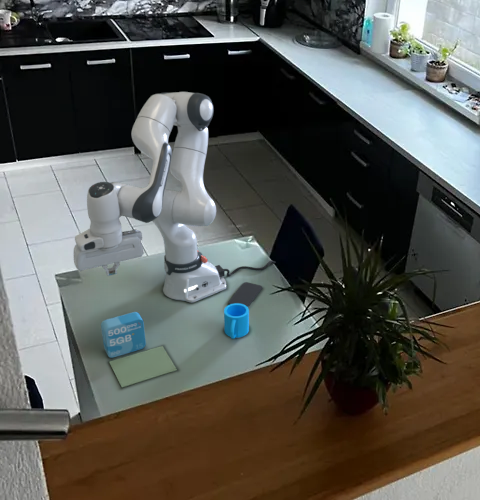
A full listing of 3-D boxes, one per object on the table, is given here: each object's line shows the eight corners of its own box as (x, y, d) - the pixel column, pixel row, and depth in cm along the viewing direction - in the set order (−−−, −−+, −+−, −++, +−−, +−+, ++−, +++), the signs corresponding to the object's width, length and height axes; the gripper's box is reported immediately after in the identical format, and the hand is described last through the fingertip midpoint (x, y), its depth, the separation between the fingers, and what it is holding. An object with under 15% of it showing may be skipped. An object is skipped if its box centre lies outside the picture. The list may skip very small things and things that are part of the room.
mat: (162, 346, 224) (162, 345, 224) (176, 370, 215) (176, 369, 215) (109, 362, 215) (109, 361, 215) (121, 387, 206) (121, 387, 206)
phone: (263, 285, 256) (246, 307, 243) (263, 287, 256) (246, 309, 244) (244, 281, 257) (227, 303, 245) (244, 283, 258) (227, 305, 245)
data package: (108, 359, 217) (104, 328, 210) (104, 351, 220) (100, 320, 214) (146, 348, 222) (143, 318, 216) (141, 340, 226) (138, 310, 219)
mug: (227, 321, 237) (226, 302, 233) (250, 323, 237) (250, 304, 233) (219, 343, 227) (219, 323, 223) (244, 346, 227) (244, 326, 223)
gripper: (138, 223, 214) (141, 261, 222) (69, 237, 204) (75, 276, 212) (144, 232, 210) (148, 271, 217) (74, 247, 200) (80, 287, 207)
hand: (111, 274), depth 214 cm, fingers closed
